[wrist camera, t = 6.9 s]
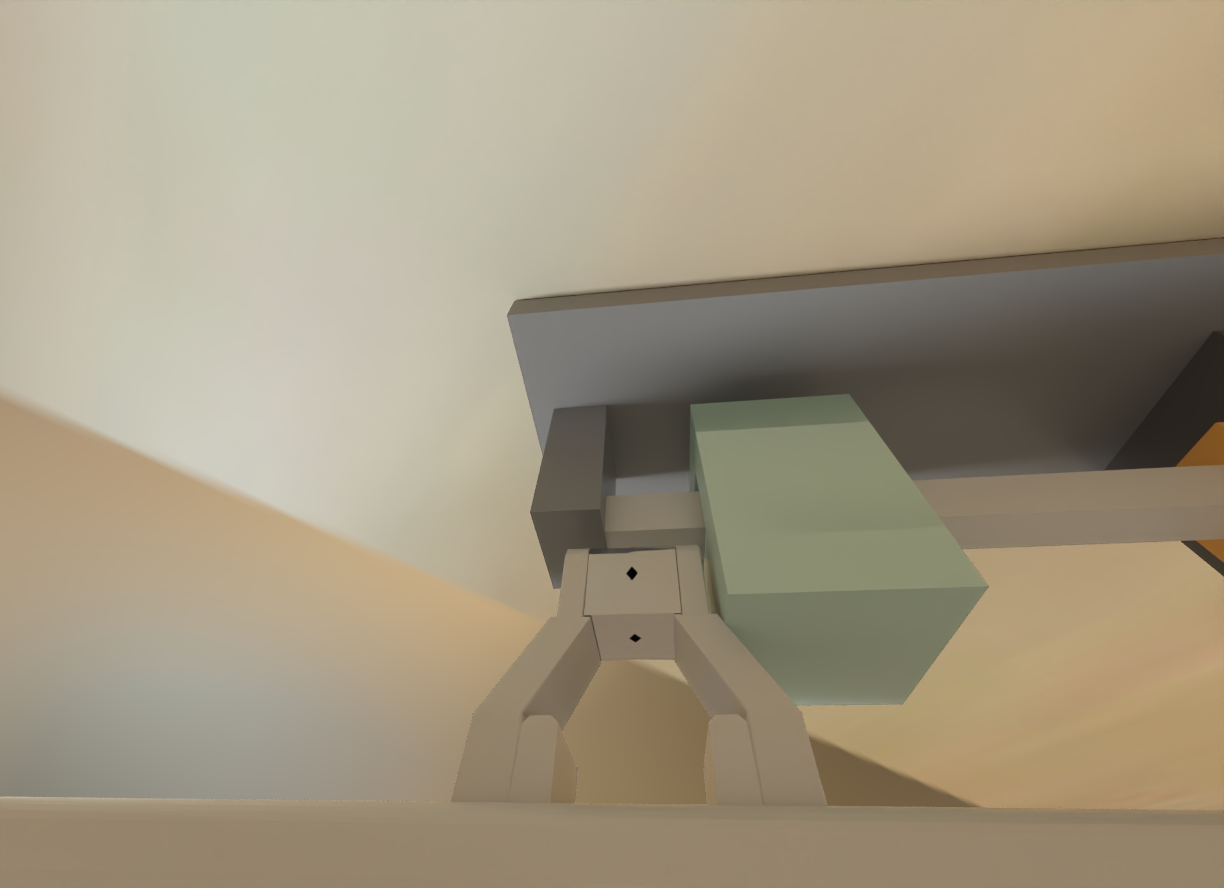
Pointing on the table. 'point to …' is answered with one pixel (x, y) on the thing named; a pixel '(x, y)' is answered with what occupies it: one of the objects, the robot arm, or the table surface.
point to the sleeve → (824, 549)
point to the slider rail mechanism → (904, 393)
